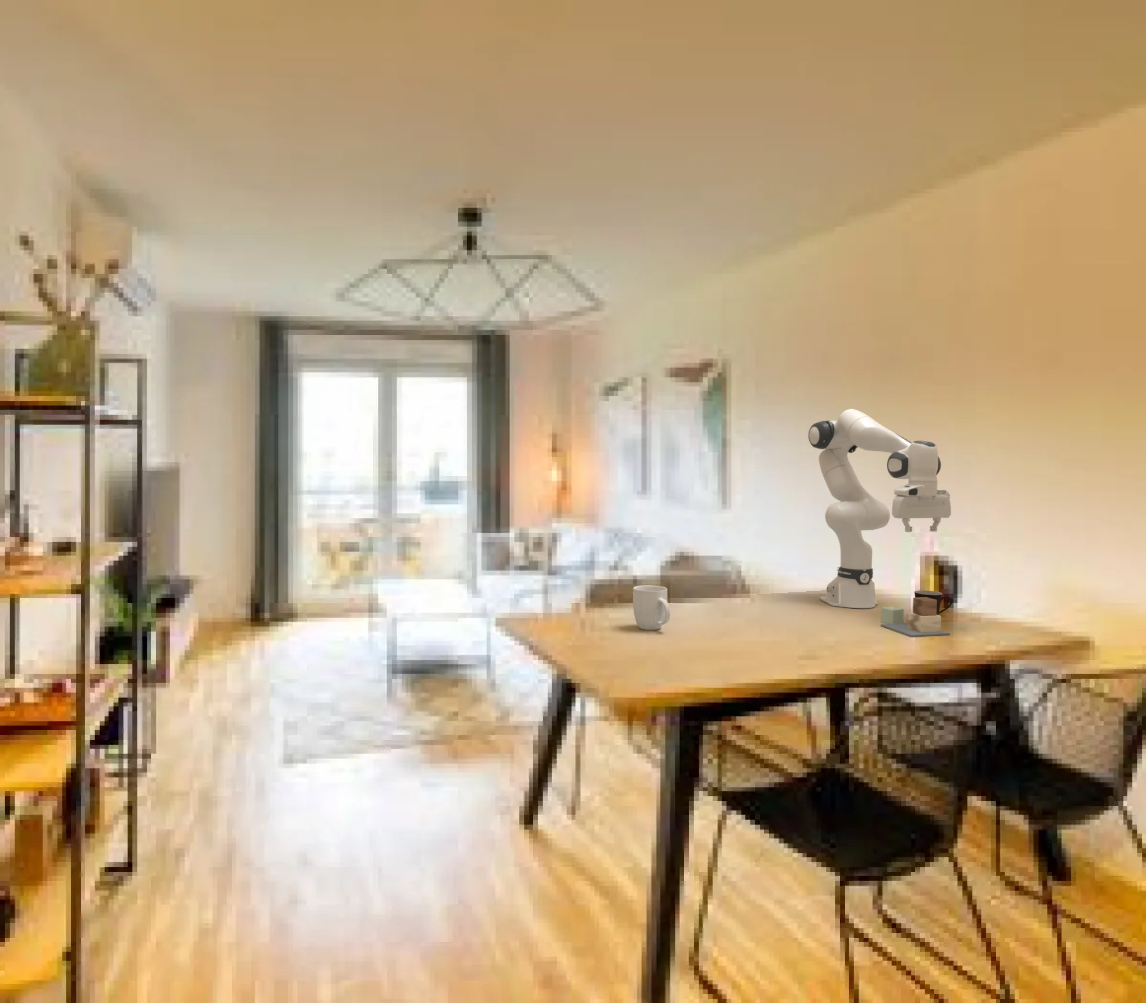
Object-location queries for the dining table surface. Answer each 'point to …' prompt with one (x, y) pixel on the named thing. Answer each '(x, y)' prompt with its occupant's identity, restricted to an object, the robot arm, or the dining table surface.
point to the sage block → (891, 615)
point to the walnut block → (924, 606)
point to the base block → (924, 623)
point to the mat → (905, 630)
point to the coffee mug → (935, 596)
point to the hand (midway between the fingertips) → (921, 531)
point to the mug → (650, 606)
